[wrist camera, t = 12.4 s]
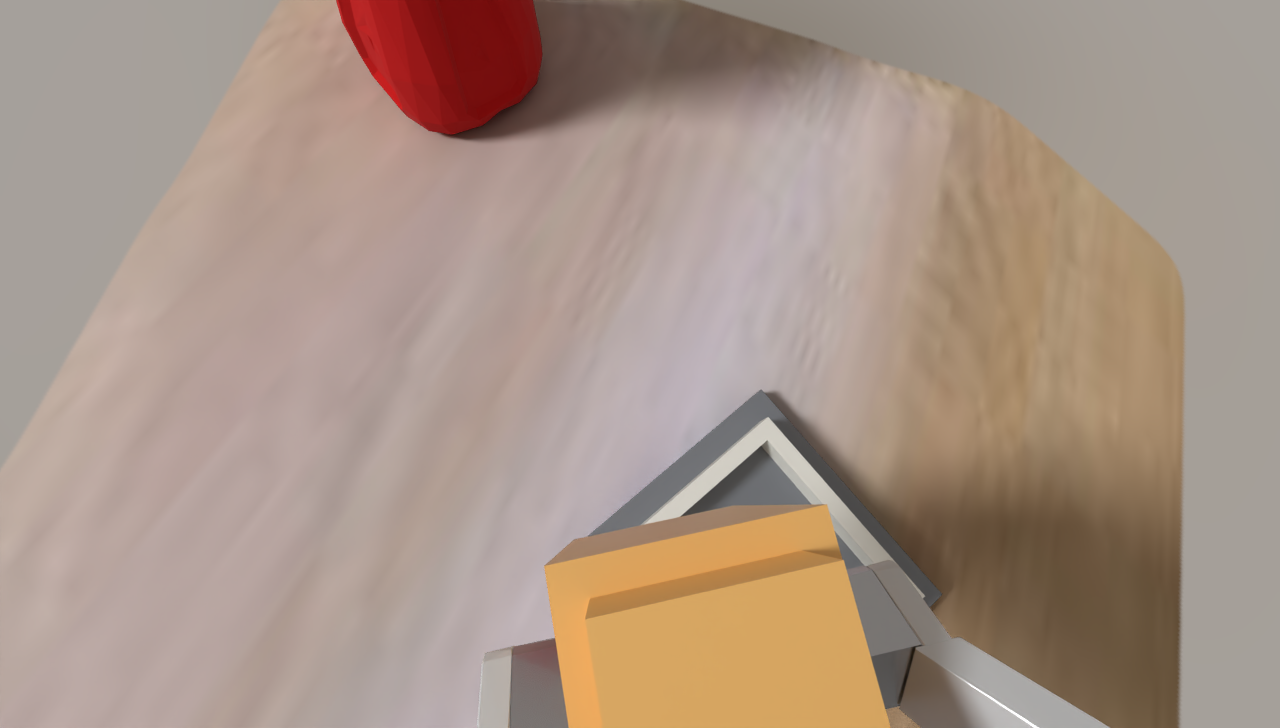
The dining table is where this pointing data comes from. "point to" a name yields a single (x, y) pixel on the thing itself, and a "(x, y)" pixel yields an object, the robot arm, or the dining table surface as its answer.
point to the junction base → (765, 487)
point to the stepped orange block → (713, 625)
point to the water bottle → (448, 55)
